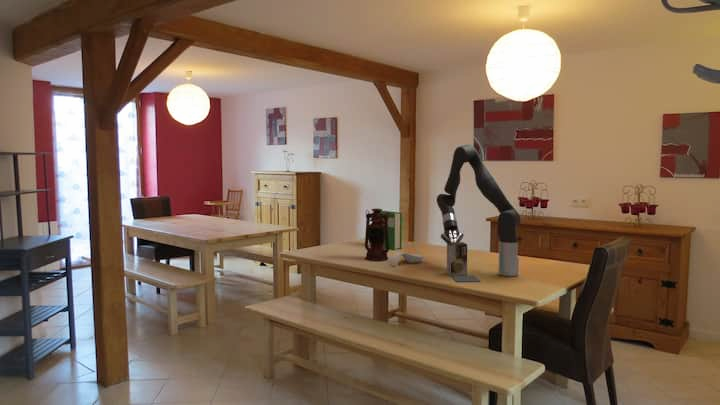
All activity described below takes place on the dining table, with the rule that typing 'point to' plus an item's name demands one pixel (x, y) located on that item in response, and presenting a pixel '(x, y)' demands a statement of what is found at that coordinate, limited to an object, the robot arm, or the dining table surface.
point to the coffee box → (457, 258)
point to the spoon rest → (406, 258)
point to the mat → (465, 278)
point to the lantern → (377, 236)
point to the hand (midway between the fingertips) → (454, 249)
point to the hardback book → (394, 230)
